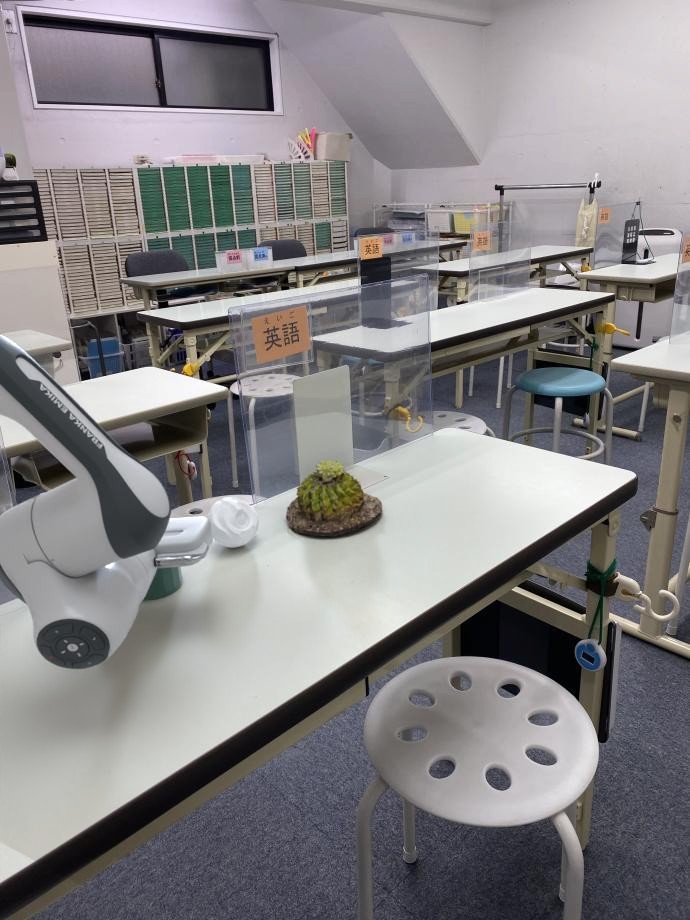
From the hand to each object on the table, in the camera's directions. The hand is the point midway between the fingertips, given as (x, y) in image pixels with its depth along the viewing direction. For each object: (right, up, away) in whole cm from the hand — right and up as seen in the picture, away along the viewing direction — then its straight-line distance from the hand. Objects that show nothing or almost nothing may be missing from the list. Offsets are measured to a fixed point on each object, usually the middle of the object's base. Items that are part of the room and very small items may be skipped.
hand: (146, 516), depth 95 cm
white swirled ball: (+10, -6, +13) cm, 18 cm away
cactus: (+26, -2, +21) cm, 33 cm away
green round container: (+1, -10, +3) cm, 11 cm away
